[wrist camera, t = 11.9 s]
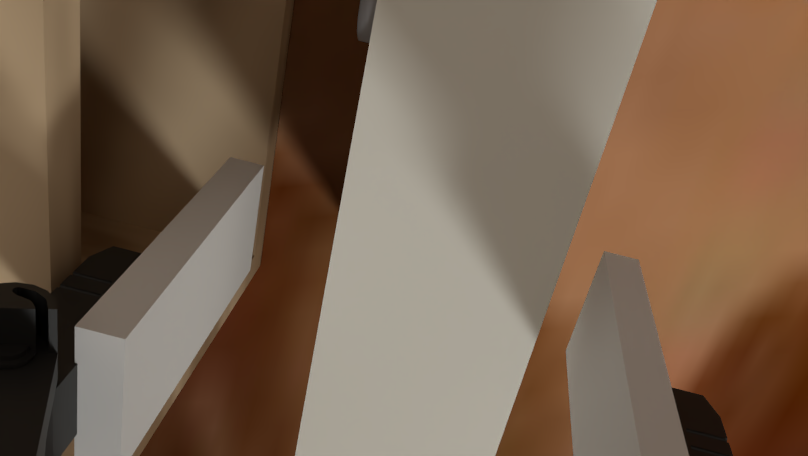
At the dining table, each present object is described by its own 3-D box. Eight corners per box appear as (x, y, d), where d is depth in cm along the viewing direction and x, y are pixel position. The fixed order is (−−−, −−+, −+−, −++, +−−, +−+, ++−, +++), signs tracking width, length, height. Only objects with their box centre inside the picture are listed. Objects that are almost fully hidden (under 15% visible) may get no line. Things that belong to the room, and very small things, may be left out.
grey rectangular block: (367, 256, 29) (278, 477, 19) (445, -121, 22) (372, -77, 13) (493, 288, 28) (469, 528, 19) (608, -83, 22) (659, -8, 12)
